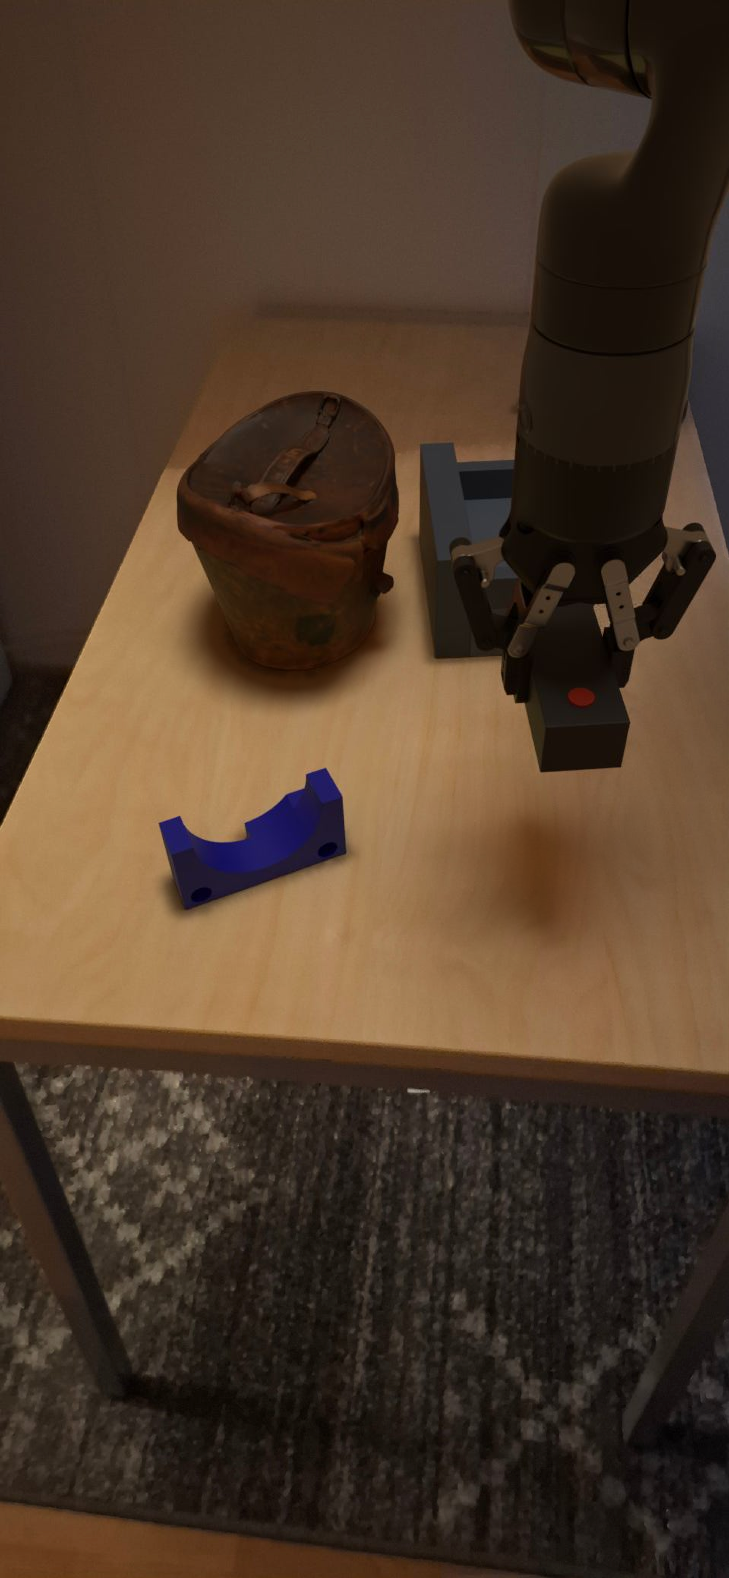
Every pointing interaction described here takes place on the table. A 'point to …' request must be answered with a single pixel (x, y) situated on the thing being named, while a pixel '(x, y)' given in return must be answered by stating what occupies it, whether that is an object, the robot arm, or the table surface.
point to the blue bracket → (259, 844)
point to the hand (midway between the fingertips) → (561, 690)
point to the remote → (575, 695)
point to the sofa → (453, 509)
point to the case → (295, 526)
